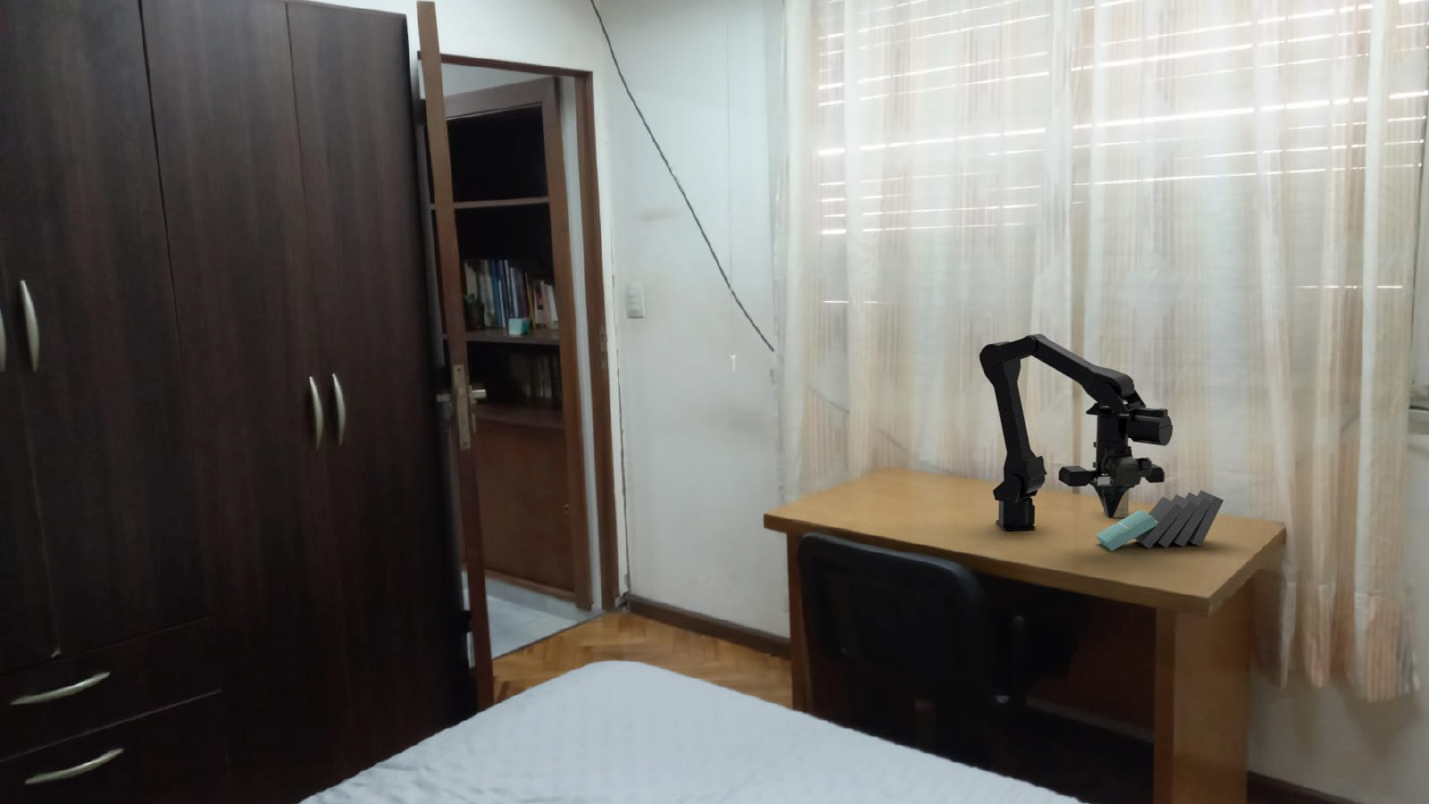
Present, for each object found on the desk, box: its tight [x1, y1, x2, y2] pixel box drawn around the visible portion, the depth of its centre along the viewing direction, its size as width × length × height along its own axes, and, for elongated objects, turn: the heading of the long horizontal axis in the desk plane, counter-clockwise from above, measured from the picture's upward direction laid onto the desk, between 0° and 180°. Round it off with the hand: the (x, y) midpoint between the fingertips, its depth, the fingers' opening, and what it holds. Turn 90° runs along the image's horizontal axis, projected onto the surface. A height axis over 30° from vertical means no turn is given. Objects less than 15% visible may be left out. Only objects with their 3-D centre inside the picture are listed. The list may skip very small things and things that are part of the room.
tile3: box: [1155, 494, 1198, 549], centre depth 187 cm, size 2×5×10 cm
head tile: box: [1095, 509, 1157, 552], centre depth 187 cm, size 2×5×10 cm
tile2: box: [1133, 496, 1184, 550], centre depth 187 cm, size 2×5×10 cm
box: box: [1103, 474, 1130, 518], centre depth 208 cm, size 5×4×11 cm
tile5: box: [1187, 489, 1225, 547], centre depth 188 cm, size 2×5×10 cm, turn 3°
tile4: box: [1172, 492, 1211, 548], centre depth 187 cm, size 2×5×10 cm
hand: (1109, 517), depth 187 cm, fingers closed
